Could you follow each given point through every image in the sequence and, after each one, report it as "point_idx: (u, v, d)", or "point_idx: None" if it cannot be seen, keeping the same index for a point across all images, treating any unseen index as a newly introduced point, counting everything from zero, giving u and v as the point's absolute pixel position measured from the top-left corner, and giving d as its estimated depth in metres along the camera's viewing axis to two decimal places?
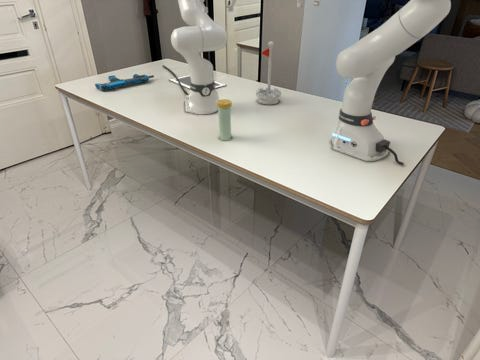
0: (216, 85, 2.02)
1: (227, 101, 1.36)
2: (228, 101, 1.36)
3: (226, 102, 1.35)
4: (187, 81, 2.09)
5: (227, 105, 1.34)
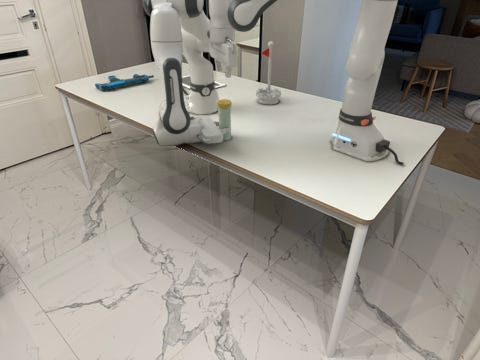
0: (216, 85, 2.02)
1: (227, 101, 1.36)
2: (228, 101, 1.36)
3: (226, 102, 1.35)
4: (187, 81, 2.09)
5: (227, 105, 1.34)
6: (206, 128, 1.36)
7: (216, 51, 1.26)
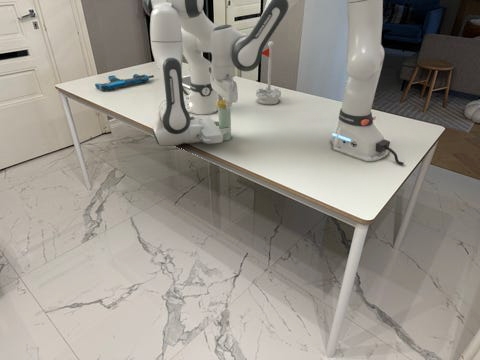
0: None
1: None
2: None
3: None
4: (187, 81, 2.09)
5: None
6: (206, 128, 1.36)
7: (217, 85, 1.33)
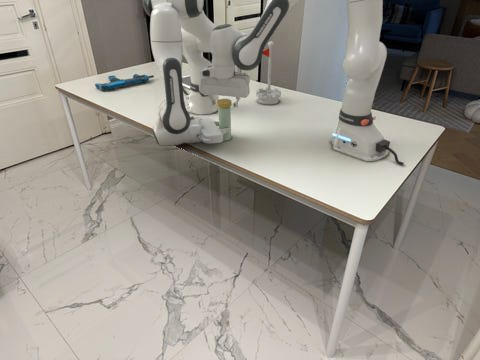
0: None
1: (224, 100, 1.36)
2: (224, 99, 1.37)
3: (226, 100, 1.36)
4: (187, 81, 2.09)
5: (231, 102, 1.36)
6: (206, 128, 1.36)
7: (217, 87, 1.31)
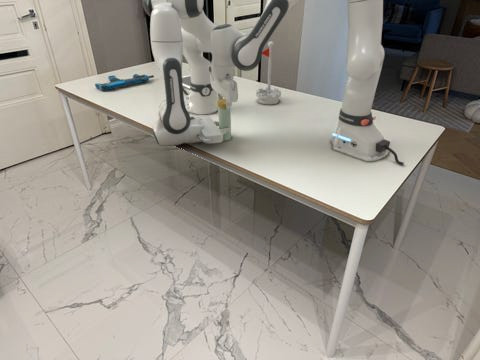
0: None
1: (224, 100, 1.36)
2: (224, 99, 1.37)
3: None
4: (187, 81, 2.09)
5: None
6: (206, 128, 1.36)
7: (217, 85, 1.33)
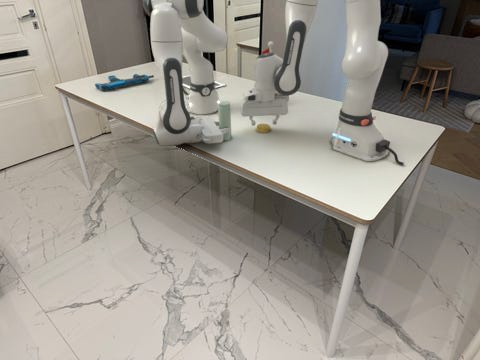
0: (216, 85, 2.02)
1: (260, 125, 1.50)
2: (259, 125, 1.51)
3: (262, 125, 1.51)
4: (187, 81, 2.09)
5: None
6: (206, 128, 1.36)
7: (260, 108, 1.43)
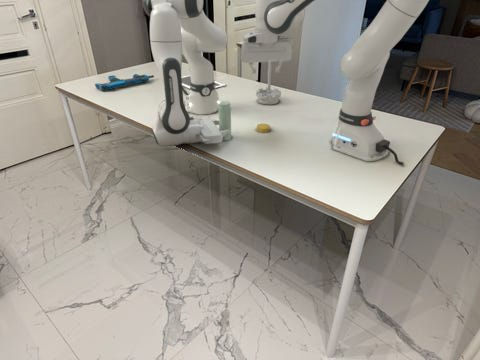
0: (216, 85, 2.02)
1: (260, 125, 1.50)
2: (259, 125, 1.51)
3: (262, 125, 1.51)
4: (187, 81, 2.09)
5: None
6: (205, 128, 1.36)
7: (261, 53, 1.31)
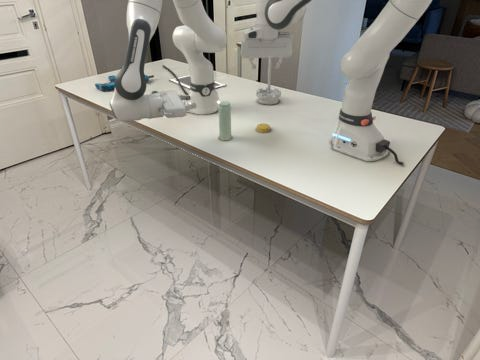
0: (216, 85, 2.02)
1: (260, 125, 1.50)
2: (259, 125, 1.51)
3: (262, 125, 1.51)
4: (187, 81, 2.09)
5: None
6: (169, 102, 1.25)
7: (261, 49, 1.30)
